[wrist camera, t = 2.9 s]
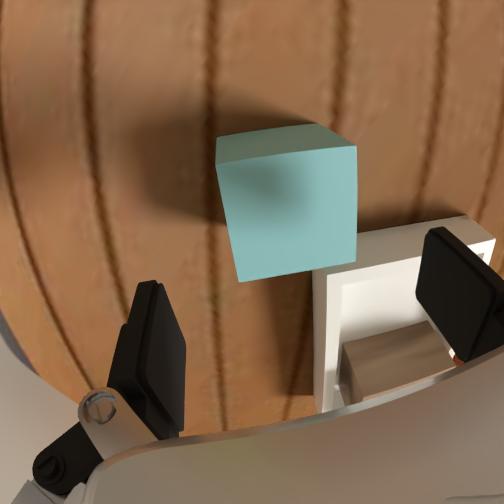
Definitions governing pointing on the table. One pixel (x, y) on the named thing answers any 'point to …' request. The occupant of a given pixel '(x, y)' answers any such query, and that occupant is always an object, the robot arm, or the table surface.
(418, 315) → the white tray
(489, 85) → the table surface
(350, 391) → the walnut block
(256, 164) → the teal box
